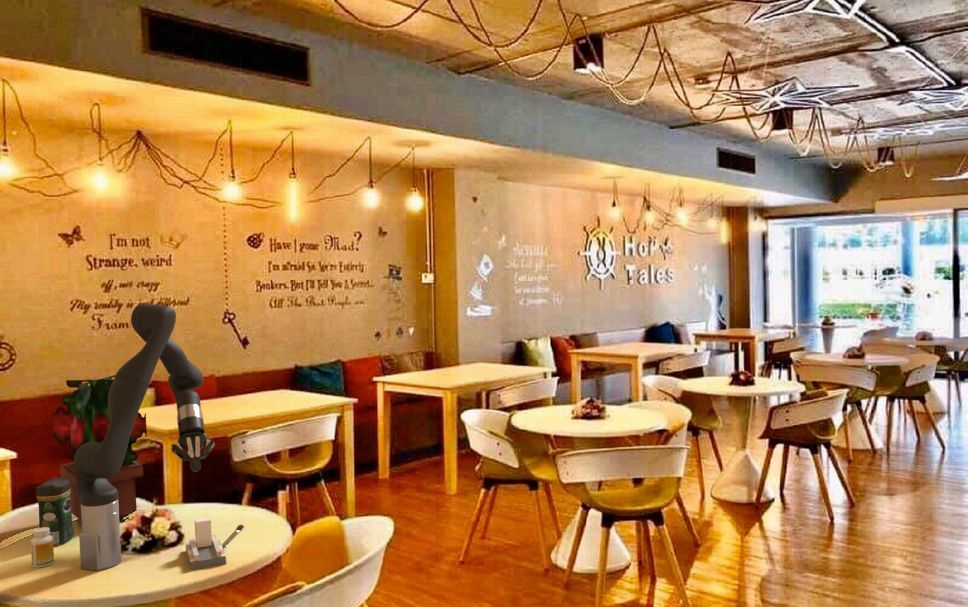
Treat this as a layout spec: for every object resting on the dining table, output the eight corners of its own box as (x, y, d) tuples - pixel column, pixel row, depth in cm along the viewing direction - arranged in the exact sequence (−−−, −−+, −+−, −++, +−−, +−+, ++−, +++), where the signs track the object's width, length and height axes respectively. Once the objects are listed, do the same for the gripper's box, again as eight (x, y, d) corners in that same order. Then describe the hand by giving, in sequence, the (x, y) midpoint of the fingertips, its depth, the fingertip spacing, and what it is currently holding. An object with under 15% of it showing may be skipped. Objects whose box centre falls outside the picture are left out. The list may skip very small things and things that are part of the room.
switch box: (185, 550, 229) (185, 538, 229) (219, 545, 233) (218, 533, 233) (190, 569, 215) (190, 556, 215) (226, 563, 219) (225, 551, 218)
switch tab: (195, 543, 228) (194, 518, 228) (210, 541, 230) (209, 516, 230) (196, 547, 225) (195, 522, 224) (212, 545, 226) (210, 520, 226)
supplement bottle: (59, 561, 223) (57, 527, 223) (42, 568, 218) (40, 533, 218) (43, 559, 225) (42, 525, 225) (27, 566, 220) (25, 531, 219)
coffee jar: (51, 536, 245) (47, 476, 244) (77, 535, 245) (74, 475, 244) (34, 548, 235) (31, 484, 234) (62, 547, 235) (58, 483, 234)
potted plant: (129, 504, 277) (122, 373, 274) (150, 518, 260) (144, 379, 257) (57, 518, 262) (50, 380, 260) (75, 535, 246) (67, 387, 243)
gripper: (167, 417, 246) (172, 466, 235) (213, 413, 251) (220, 460, 241) (167, 431, 251) (172, 480, 240) (212, 426, 256) (218, 474, 246)
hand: (196, 470), depth 241 cm, fingers closed
